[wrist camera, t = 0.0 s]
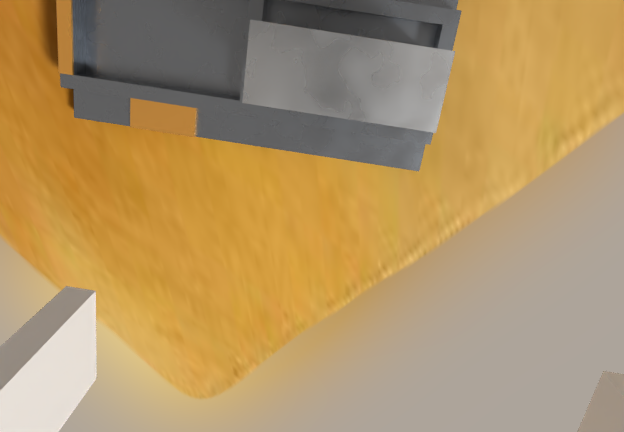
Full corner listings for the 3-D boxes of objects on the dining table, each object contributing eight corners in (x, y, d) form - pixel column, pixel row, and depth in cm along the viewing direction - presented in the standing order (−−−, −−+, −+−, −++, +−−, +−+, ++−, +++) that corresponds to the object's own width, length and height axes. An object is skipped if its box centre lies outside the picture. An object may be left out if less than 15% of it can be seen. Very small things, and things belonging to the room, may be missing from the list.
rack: (77, -86, 35) (-70, -151, 22) (460, -26, 34) (527, -59, 22) (81, 115, 39) (-37, 152, 27) (416, 167, 39) (451, 228, 27)
